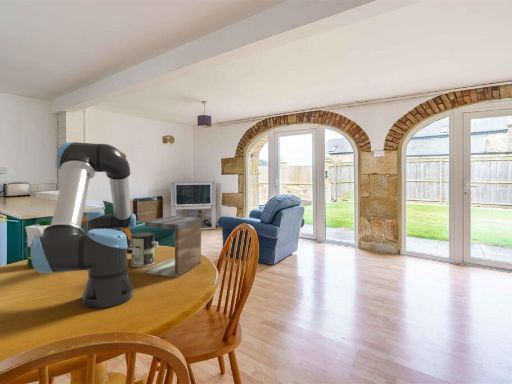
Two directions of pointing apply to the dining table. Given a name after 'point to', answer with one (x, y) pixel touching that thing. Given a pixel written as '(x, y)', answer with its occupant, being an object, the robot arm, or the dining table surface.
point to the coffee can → (143, 249)
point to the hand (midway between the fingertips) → (148, 248)
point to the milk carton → (33, 232)
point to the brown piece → (179, 245)
